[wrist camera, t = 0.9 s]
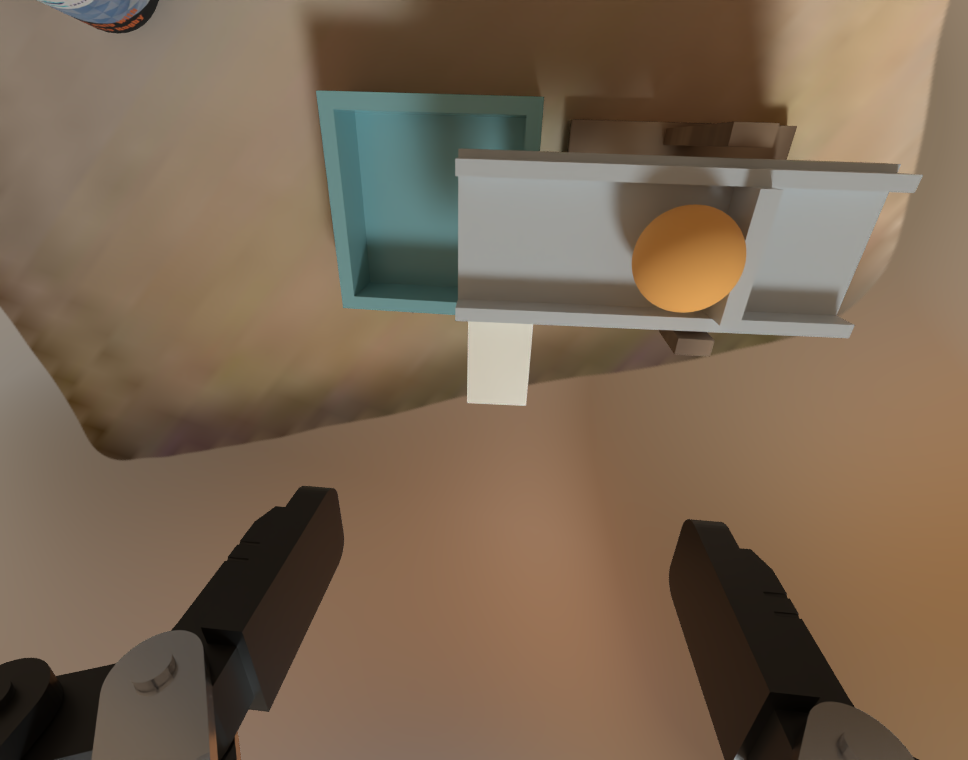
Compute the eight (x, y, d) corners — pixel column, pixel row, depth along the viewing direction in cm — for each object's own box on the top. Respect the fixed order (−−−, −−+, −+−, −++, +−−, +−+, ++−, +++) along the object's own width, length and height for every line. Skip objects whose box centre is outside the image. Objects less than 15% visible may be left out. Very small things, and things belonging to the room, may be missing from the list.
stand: (787, 126, 25) (936, 117, 16) (734, 299, 30) (824, 370, 20) (570, 120, 26) (591, 108, 17) (552, 289, 30) (561, 352, 21)
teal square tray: (345, 97, 26) (315, 90, 23) (542, 103, 25) (544, 96, 22) (364, 289, 32) (343, 307, 28) (527, 299, 31) (526, 319, 27)
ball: (625, 197, 18) (674, 211, 14) (719, 199, 18) (789, 213, 15) (609, 294, 20) (648, 328, 16) (694, 294, 20) (751, 327, 17)
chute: (785, 157, 24) (946, 166, 15) (724, 350, 30) (817, 440, 21) (472, 146, 24) (453, 149, 16) (469, 339, 30) (453, 421, 21)
